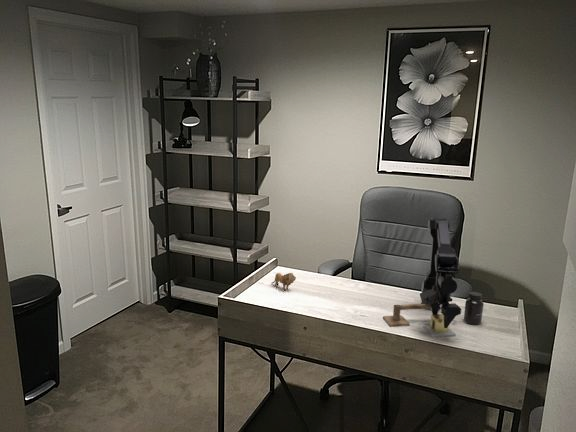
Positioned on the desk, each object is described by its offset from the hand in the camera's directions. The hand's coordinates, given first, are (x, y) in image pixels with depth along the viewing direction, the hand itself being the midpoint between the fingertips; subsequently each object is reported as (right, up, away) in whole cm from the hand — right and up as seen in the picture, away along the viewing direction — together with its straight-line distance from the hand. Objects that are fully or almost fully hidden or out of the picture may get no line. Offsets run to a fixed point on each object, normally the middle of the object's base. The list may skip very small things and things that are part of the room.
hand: (439, 322), depth 184 cm
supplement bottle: (+17, -2, +10) cm, 20 cm away
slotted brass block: (0, -3, +1) cm, 3 cm away
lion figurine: (-61, +7, +42) cm, 74 cm away
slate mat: (0, -4, +1) cm, 4 cm away
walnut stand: (-9, -1, +9) cm, 13 cm away
